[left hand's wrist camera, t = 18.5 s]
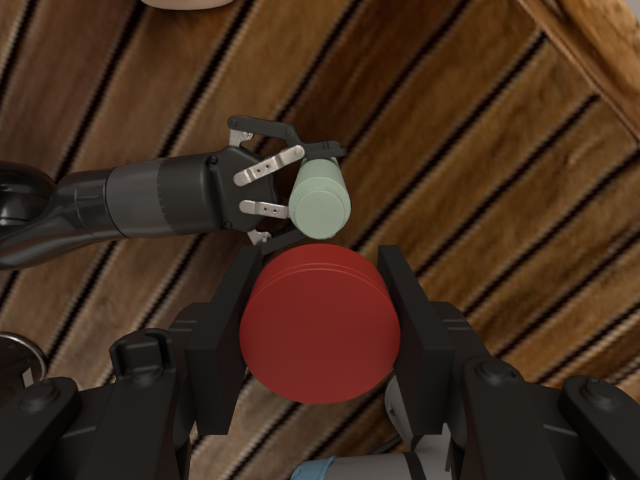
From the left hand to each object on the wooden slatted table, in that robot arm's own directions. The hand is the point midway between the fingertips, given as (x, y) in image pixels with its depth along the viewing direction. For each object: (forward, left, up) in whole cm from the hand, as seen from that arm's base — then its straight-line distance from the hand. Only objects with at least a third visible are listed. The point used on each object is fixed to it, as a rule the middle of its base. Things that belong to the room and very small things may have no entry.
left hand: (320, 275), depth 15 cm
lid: (0, 0, +4) cm, 4 cm away
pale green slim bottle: (0, 0, -27) cm, 27 cm away
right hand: (+2, -2, -20) cm, 20 cm away
